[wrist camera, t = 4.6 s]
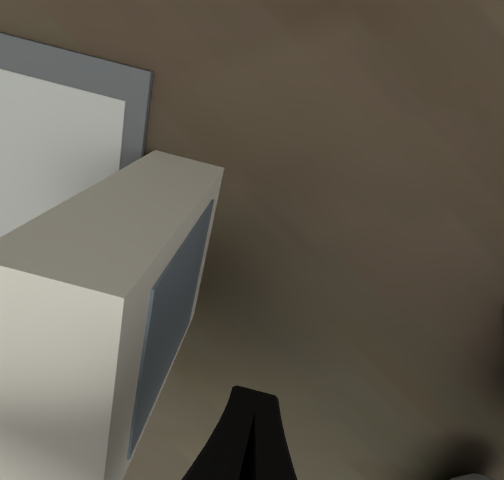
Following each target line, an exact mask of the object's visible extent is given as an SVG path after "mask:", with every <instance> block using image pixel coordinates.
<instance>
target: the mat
mask: <svg viewBox="0 0 504 480" xmlns="http://www.w3.org/2000/svg"><path fill="white" fill-rule="evenodd" d="M153 75H154V72H152V71H148V70H144V69H140V68H137V67H133V66H129V65H125V64H121V63H117V62H113V61H109V60H105V59H102V58H98V57H94V56H90V55H86V54H82V53H78V52H74V51H71V50H67V49H63V48H59V47H55V46H51V45H47V44H43V43H39V42H36V41H32V40H28V39H24V38H20V37H16V36H12V35H8V34H5V33H1V32H0V237H2V236H4V235H5V234H7V233H9V232H11V231H13V230H14V229H16V228H18V227H20V226H21V225H23V224H25V223H27V222H28V221H30V220H32V219H34V218H36V217H37V216H39V215H41V214H43V213H44V212H46V211H48V210H50V209H52V208H53V207H55V206H57V205H59V204H60V203H62V202H64V201H66V200H67V199H69V198H71V197H73V196H75V195H76V194H78V193H80V192H82V191H83V190H85V189H87V188H89V187H90V186H92V185H94V184H96V183H98V182H99V181H101V180H103V179H105V178H106V177H108V176H110V175H112V174H113V173H115V172H117V171H119V170H121V169H122V168H124V167H126V166H128V165H129V164H131V163H133V162H135V161H136V160H138V159H140V158H142V157H144V152H145V144H146V135H147V127H148V118H149V110H150V101H151V93H152V84H153Z"/></svg>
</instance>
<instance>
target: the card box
mask: <svg viewBox="0 0 504 480" xmlns="http://www.w3.org/2000/svg"><path fill="white" fill-rule="evenodd" d="M223 171H224V168H223V167H219V166H215V165H211V164H207V163H203V162H200V161H196V160H192V159H188V158H184V157H180V156H176V155H173V154H169V153H165V152H161V151H157V150H154V151H152V152H151V153H149V154H147V155H145V156H144V157H142V158H140V159H138V160H136V161H135V162H133V163H131V164H129V165H128V166H126V167H124V168H122V169H121V170H119V171H117V172H115V173H113V174H112V175H110V176H108V177H106V178H105V179H103V180H101V181H99V182H98V183H96V184H94V185H92V186H90V187H89V188H87V189H85V190H83V191H82V192H80V193H78V194H76V195H75V196H73V197H71V198H69V199H67V200H66V201H64V202H62V203H60V204H59V205H57V206H55V207H53V208H52V209H50V210H48V211H46V212H44V213H43V214H41V215H39V216H37V217H36V218H34V219H32V220H30V221H28V222H27V223H25V224H23V225H21V226H20V227H18V228H16V229H14V230H13V231H11V232H9V233H7V234H5V235H4V236H2V237H0V480H123V478H124V476H125V474H126V471H127V469H128V467H129V464H130V462H131V460H132V457H133V455H134V453H135V450H136V448H137V446H138V444H139V441H140V439H141V437H142V434H143V432H144V430H145V427H146V425H147V423H148V420H149V418H150V416H151V413H152V411H153V409H154V407H155V404H156V402H157V400H158V397H159V395H160V393H161V390H162V388H163V386H164V383H165V381H166V379H167V376H168V374H169V372H170V370H171V367H172V365H173V363H174V360H175V358H176V356H177V353H178V351H179V349H180V346H181V344H182V342H183V339H184V337H185V335H186V333H187V330H188V328H189V326H190V323H191V321H192V319H193V316H194V312H195V307H196V302H197V298H198V293H199V288H200V283H201V278H202V273H203V268H204V264H205V259H206V254H207V249H208V244H209V239H210V234H211V230H212V225H213V220H214V215H215V210H216V205H217V200H218V196H219V191H220V186H221V181H222V176H223Z"/></svg>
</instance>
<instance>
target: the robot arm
mask: <svg viewBox="0 0 504 480" xmlns="http://www.w3.org/2000/svg"><path fill="white" fill-rule="evenodd" d="M182 480H297V477H296V474H295V471H294V468H293V464H292V461H291V457H290V454H289V450H288V446H287V442H286V438H285V434H284V430H283V425H282V420H281V415H280V409H279V401H278V398H277V397H276V396H275V395H271V394H267V393H264V392H260V391H256V390H252V389H249V388H245V387H241V386H234V387H232V391H231V394H230V398H229V401H228V403H227V406H226V408H225V410H224V412H223V414H222V416H221V418H220V420H219V422H218V424H217V426H216V427H215V429H214V431H213V433H212V434H211V436H210V438H209V440H208V441H207V443H206V445H205V446H204V448H203V449H202V451H201V452H200V454H199V455H198V457H197V458H196V460H195V461H194V463H193V464H192V466H191V467H190V469H189V470H188V471H187V473H186V474H185V476H184V477H183V478H182Z"/></svg>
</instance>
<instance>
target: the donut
mask: <svg viewBox="0 0 504 480" xmlns="http://www.w3.org/2000/svg"><path fill="white" fill-rule="evenodd" d="M450 480H496V479H493V478H490V477H487V476H484V475H481V474H475V473H472V474H467V475H463V476H458V477H455V478H451V479H450Z"/></svg>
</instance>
